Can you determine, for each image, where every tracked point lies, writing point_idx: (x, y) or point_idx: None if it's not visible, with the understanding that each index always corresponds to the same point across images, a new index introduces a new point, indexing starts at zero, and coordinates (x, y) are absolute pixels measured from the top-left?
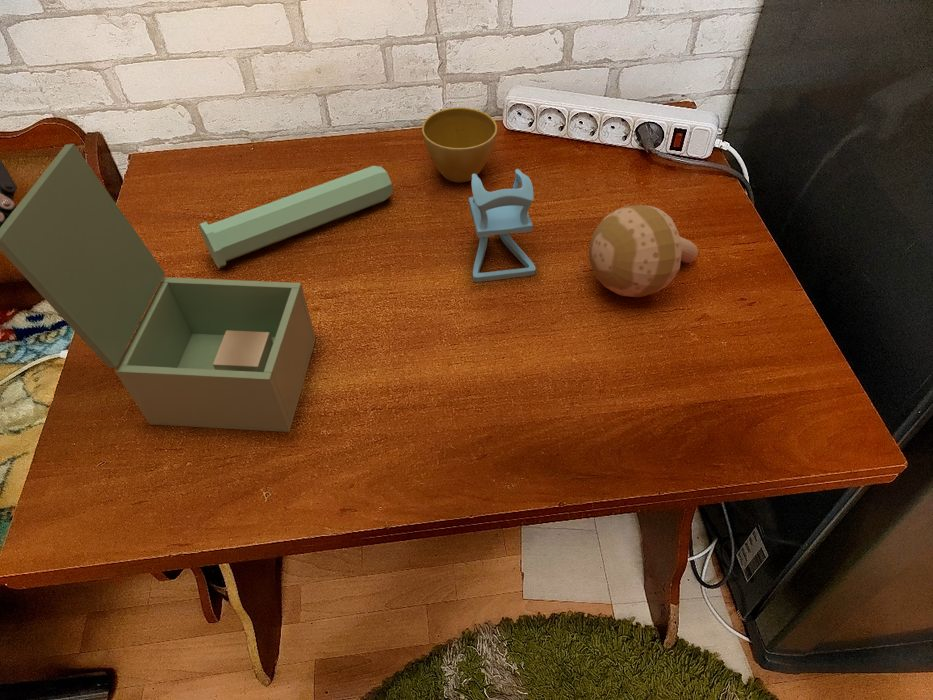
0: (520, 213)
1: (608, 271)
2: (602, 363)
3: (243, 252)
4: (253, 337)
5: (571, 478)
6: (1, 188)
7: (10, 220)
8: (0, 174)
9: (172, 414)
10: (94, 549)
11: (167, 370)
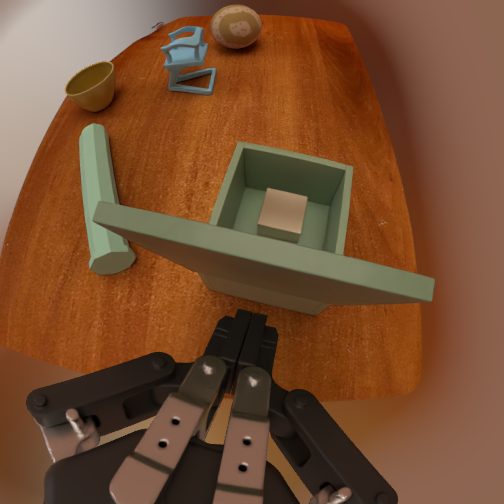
0: (200, 41)
1: (250, 32)
2: (292, 61)
3: None
4: (271, 200)
5: (363, 87)
6: (169, 376)
7: (381, 274)
8: (132, 376)
9: None
10: (415, 335)
11: (339, 248)
